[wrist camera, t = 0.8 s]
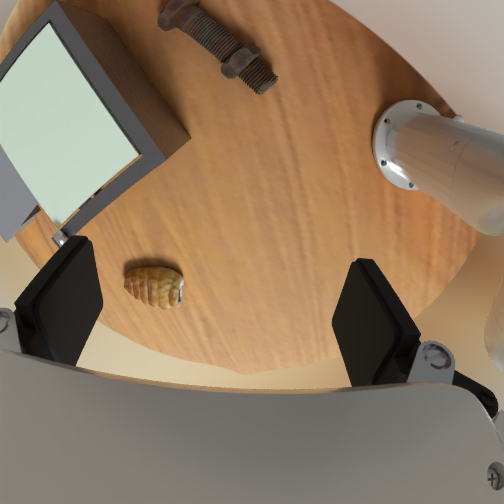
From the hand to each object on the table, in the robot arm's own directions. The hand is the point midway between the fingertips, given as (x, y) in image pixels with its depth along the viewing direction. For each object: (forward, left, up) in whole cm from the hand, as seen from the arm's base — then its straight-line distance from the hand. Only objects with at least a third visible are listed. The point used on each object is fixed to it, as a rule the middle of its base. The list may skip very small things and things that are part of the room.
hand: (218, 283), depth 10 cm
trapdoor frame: (+12, -14, -28) cm, 34 cm away
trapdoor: (+17, -14, -22) cm, 31 cm away
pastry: (+21, +11, -28) cm, 37 cm away
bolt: (-5, -11, -28) cm, 31 cm away
